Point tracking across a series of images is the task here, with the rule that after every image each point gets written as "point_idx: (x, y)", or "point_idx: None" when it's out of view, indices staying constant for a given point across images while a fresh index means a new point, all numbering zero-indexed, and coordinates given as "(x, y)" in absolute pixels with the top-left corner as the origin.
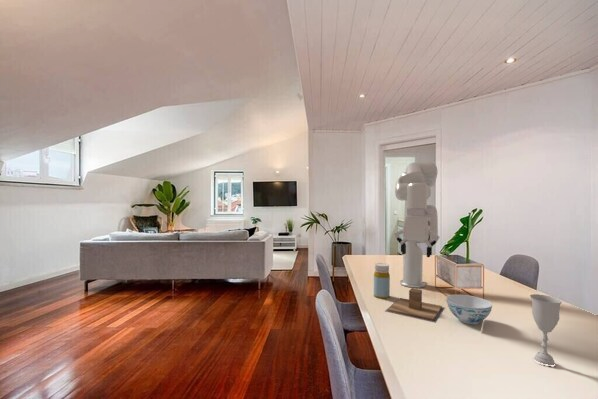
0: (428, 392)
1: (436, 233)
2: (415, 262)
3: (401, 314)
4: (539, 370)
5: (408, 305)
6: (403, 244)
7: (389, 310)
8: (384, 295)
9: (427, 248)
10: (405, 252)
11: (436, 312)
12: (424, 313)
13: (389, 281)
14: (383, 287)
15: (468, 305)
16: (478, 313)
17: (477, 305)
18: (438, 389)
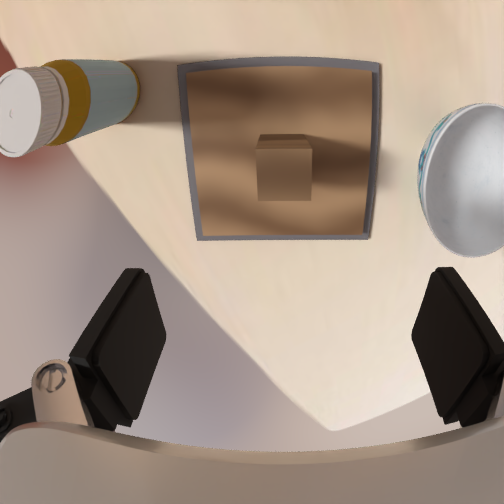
0: (356, 423)
1: None
2: None
3: (255, 235)
4: (498, 323)
5: (251, 148)
6: (114, 414)
7: (210, 234)
8: (126, 114)
9: (442, 411)
10: (146, 292)
11: (366, 164)
12: (329, 201)
13: (103, 84)
14: (105, 123)
15: (473, 113)
16: (491, 236)
17: (498, 121)
18: (366, 417)
